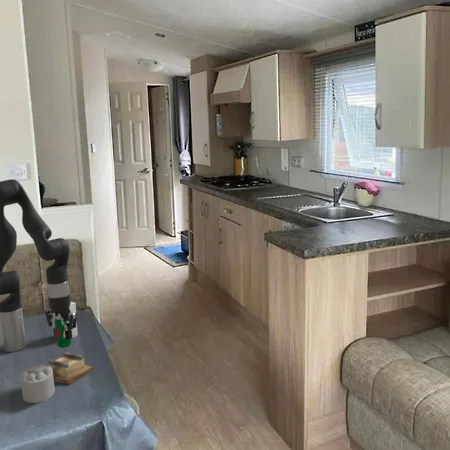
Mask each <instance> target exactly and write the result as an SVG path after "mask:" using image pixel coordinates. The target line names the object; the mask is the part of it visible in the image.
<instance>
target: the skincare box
mask: <svg viewBox="0 0 450 450" xmlns="http://www.w3.org/2000/svg"><path fill="white" fill-rule="evenodd" d="M76 304H77V303H76V302H73V301H71V305H70V307H69V309H70V311H71V312H72V313H77V305H76ZM72 325H73V324H72ZM78 335H79V333H78V323H77V321H76V328H74V329H72V339H74V338H75V337H77V336H78ZM53 336H54V335H53ZM53 338H55V336H54V337H53Z"/></svg>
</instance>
